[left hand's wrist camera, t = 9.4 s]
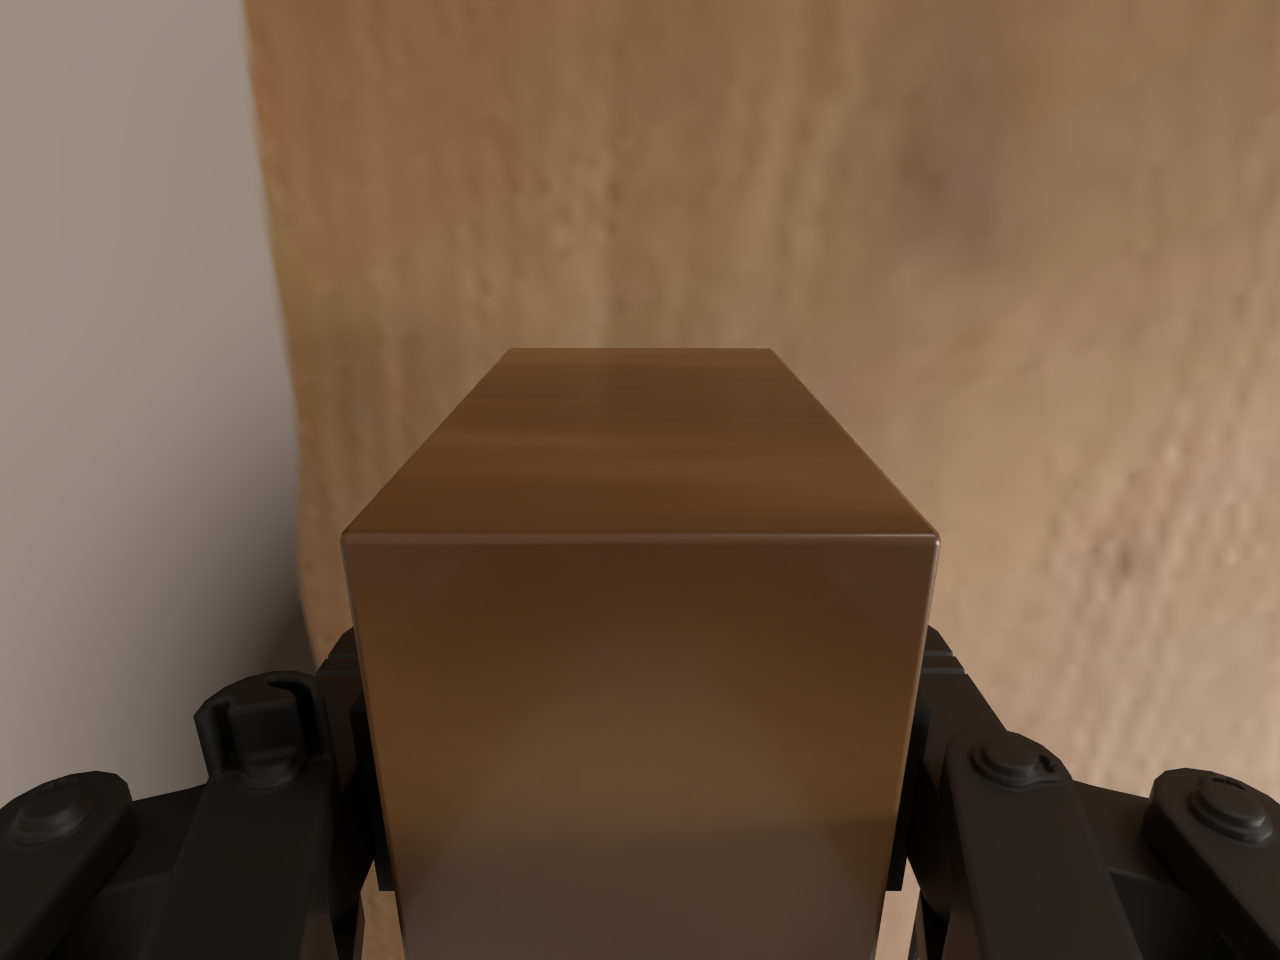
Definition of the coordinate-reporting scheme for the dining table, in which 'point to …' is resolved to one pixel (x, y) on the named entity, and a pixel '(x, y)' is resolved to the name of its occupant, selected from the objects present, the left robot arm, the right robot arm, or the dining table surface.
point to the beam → (640, 664)
